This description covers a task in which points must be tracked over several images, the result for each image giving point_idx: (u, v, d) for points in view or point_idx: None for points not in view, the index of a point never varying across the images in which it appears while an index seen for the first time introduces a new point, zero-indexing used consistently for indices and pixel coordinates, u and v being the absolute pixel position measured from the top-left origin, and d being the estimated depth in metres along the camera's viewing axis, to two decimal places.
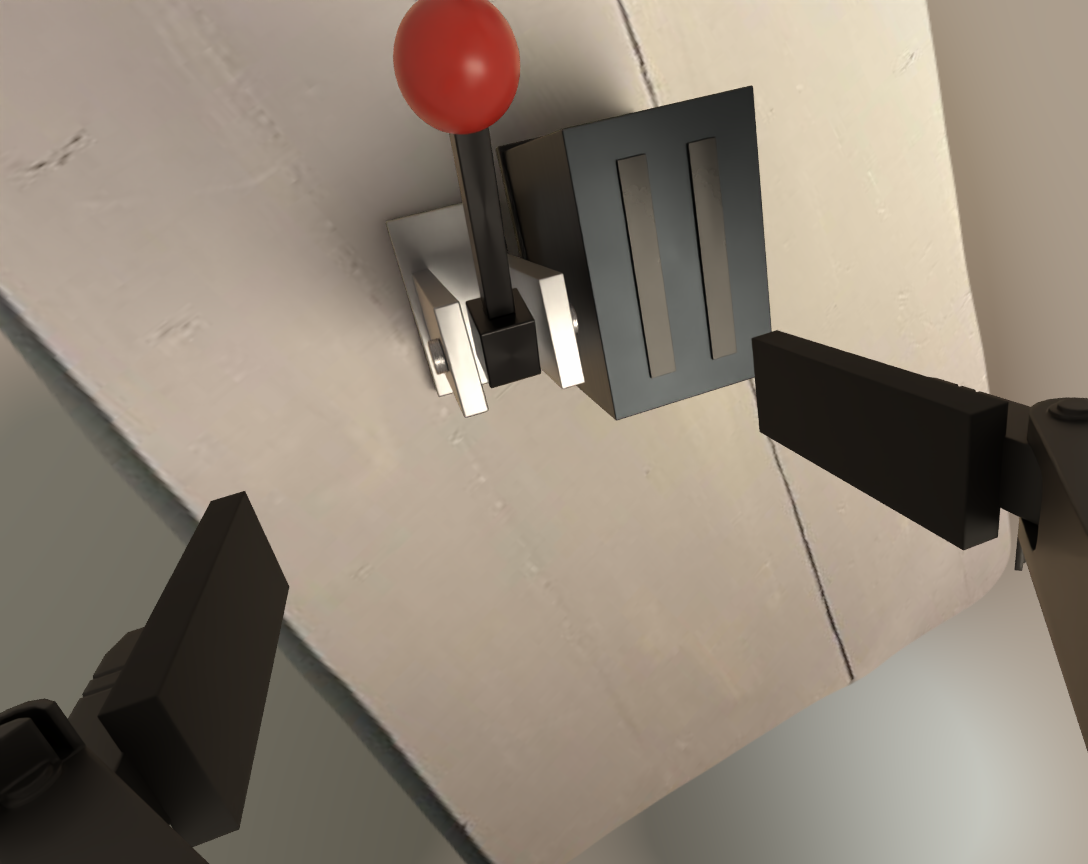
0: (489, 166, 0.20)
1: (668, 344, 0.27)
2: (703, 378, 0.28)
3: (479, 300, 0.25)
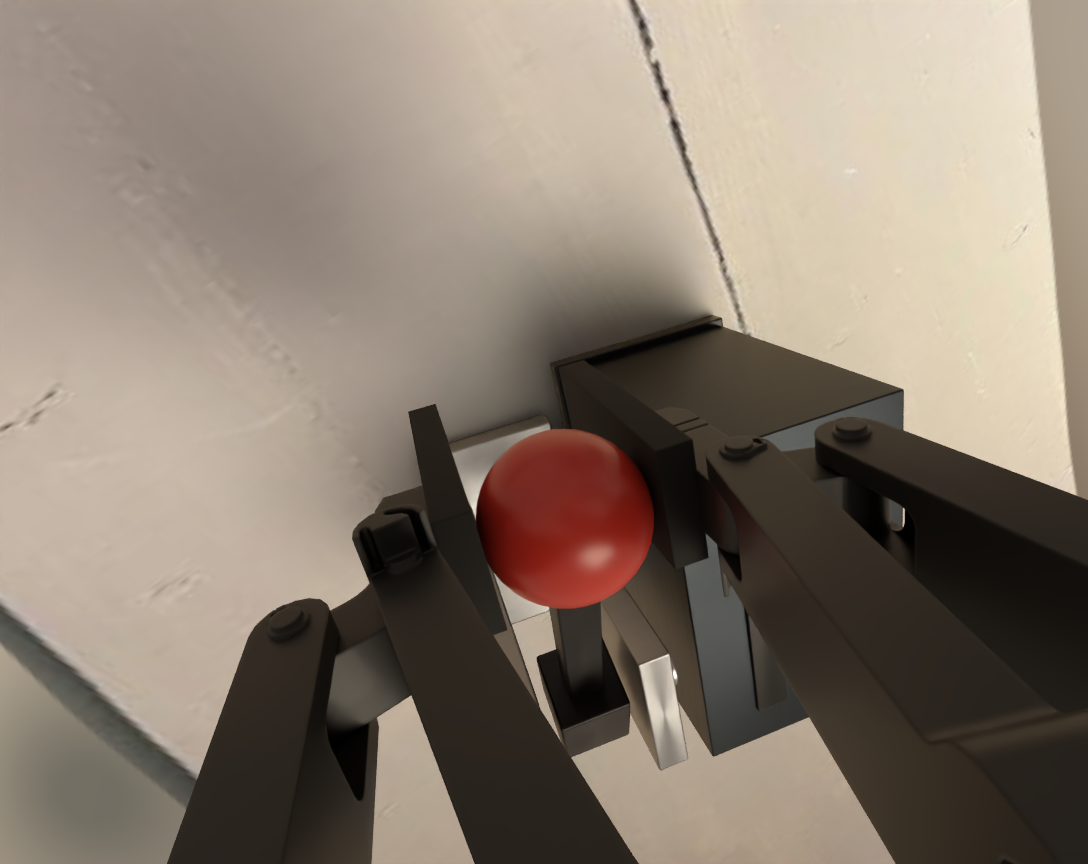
0: None
1: (781, 673, 0.22)
2: None
3: (555, 657, 0.20)
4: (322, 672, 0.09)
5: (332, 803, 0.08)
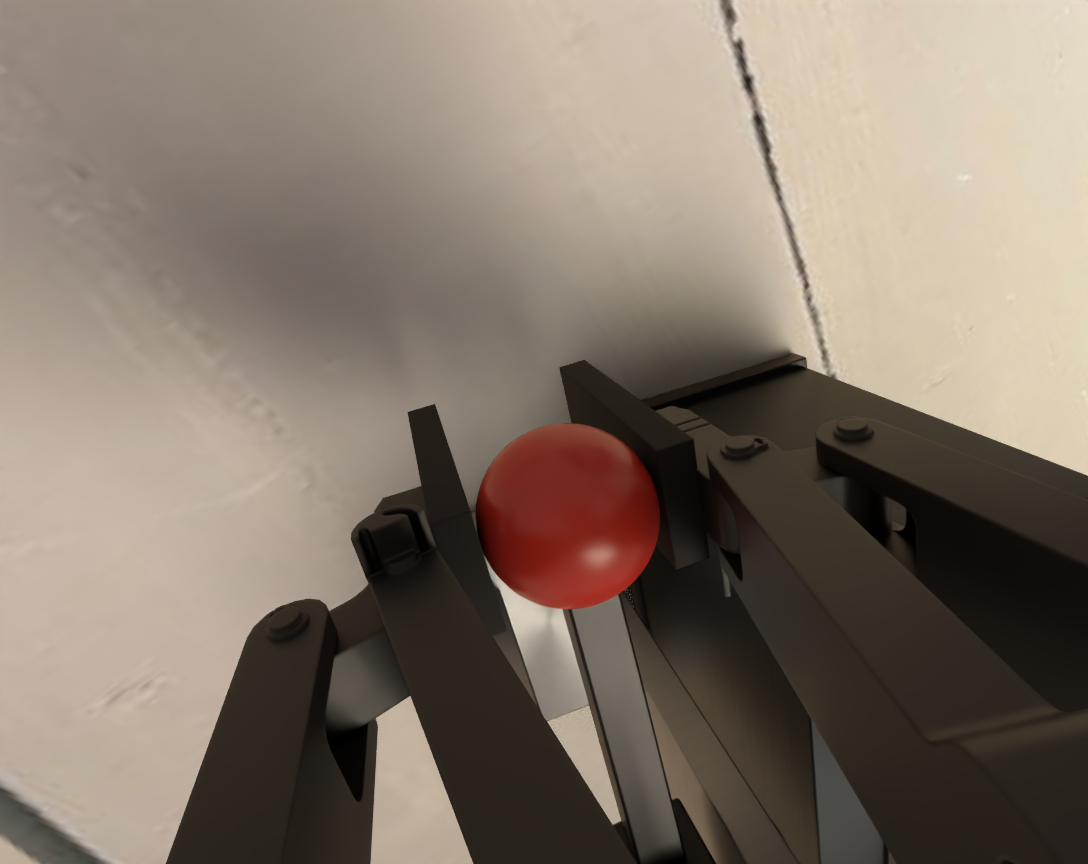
0: (625, 644, 0.13)
1: None
2: None
3: (621, 829, 0.15)
4: (321, 673, 0.09)
5: (331, 804, 0.08)
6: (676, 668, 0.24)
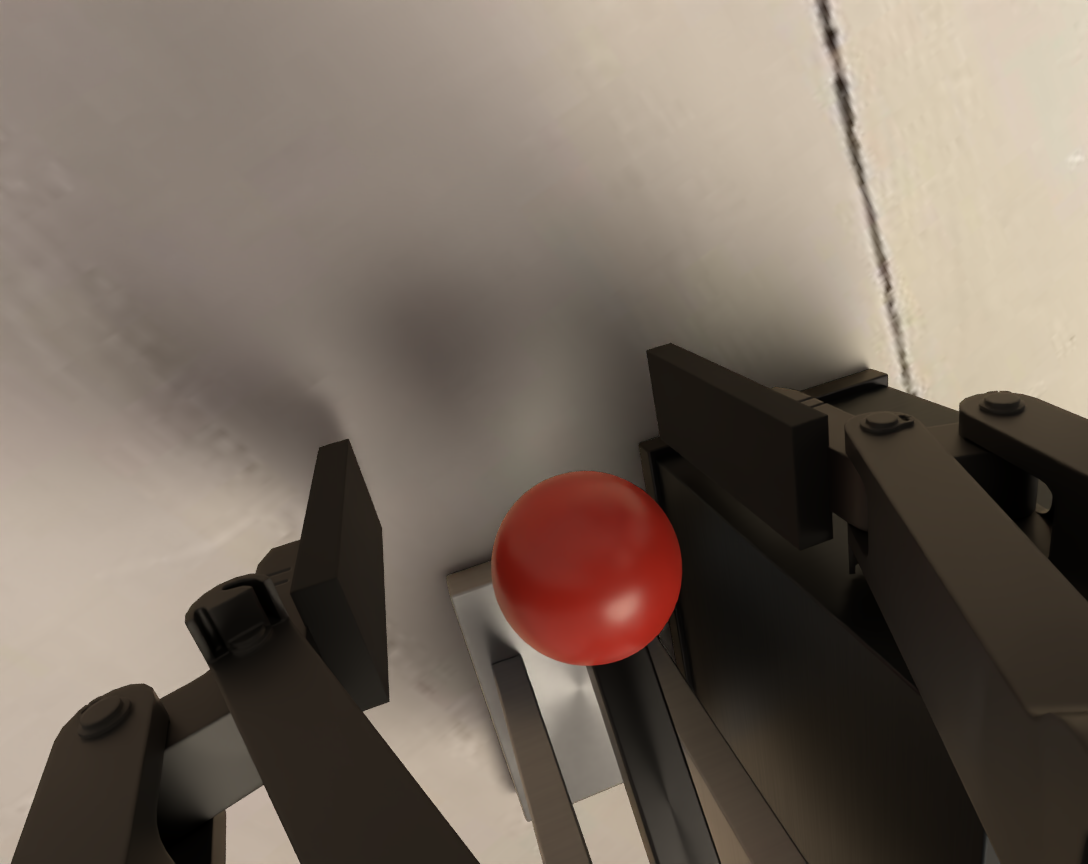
0: (661, 713, 0.11)
1: None
2: None
3: None
4: (149, 764, 0.08)
5: None
6: (733, 748, 0.20)
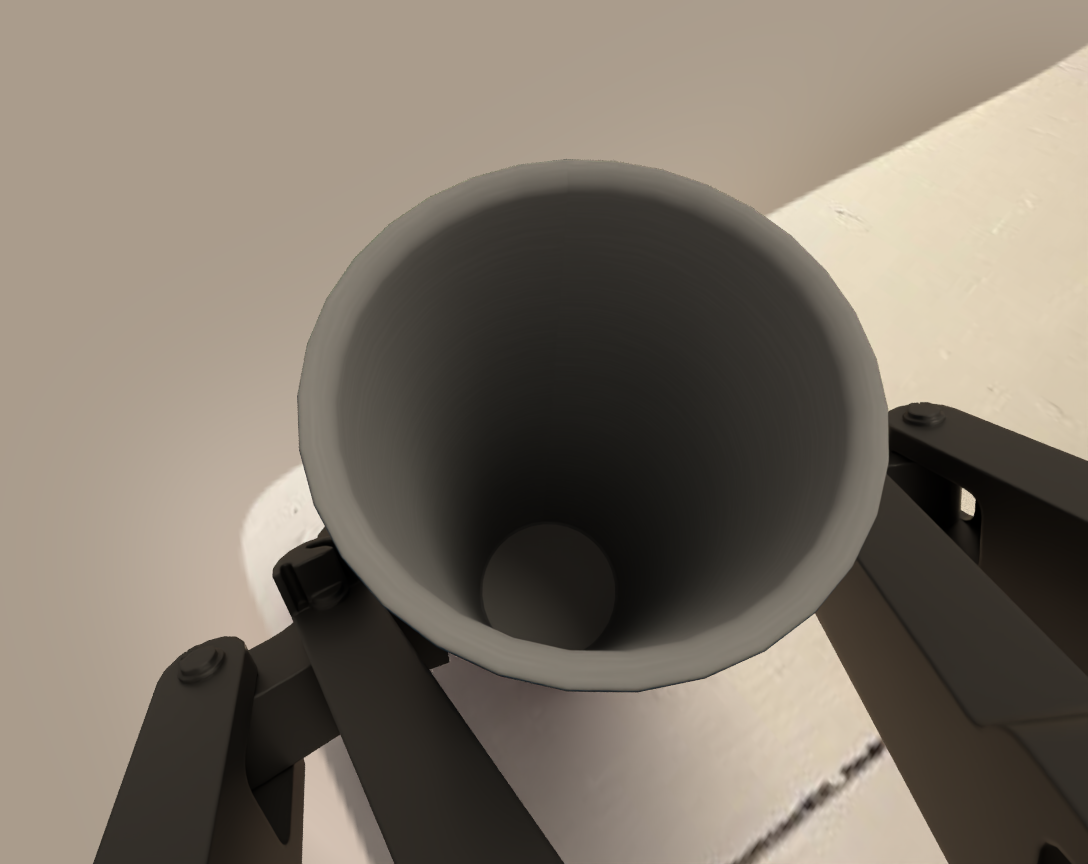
0: None
1: None
2: None
3: None
4: (239, 712, 0.08)
5: (254, 849, 0.07)
6: None
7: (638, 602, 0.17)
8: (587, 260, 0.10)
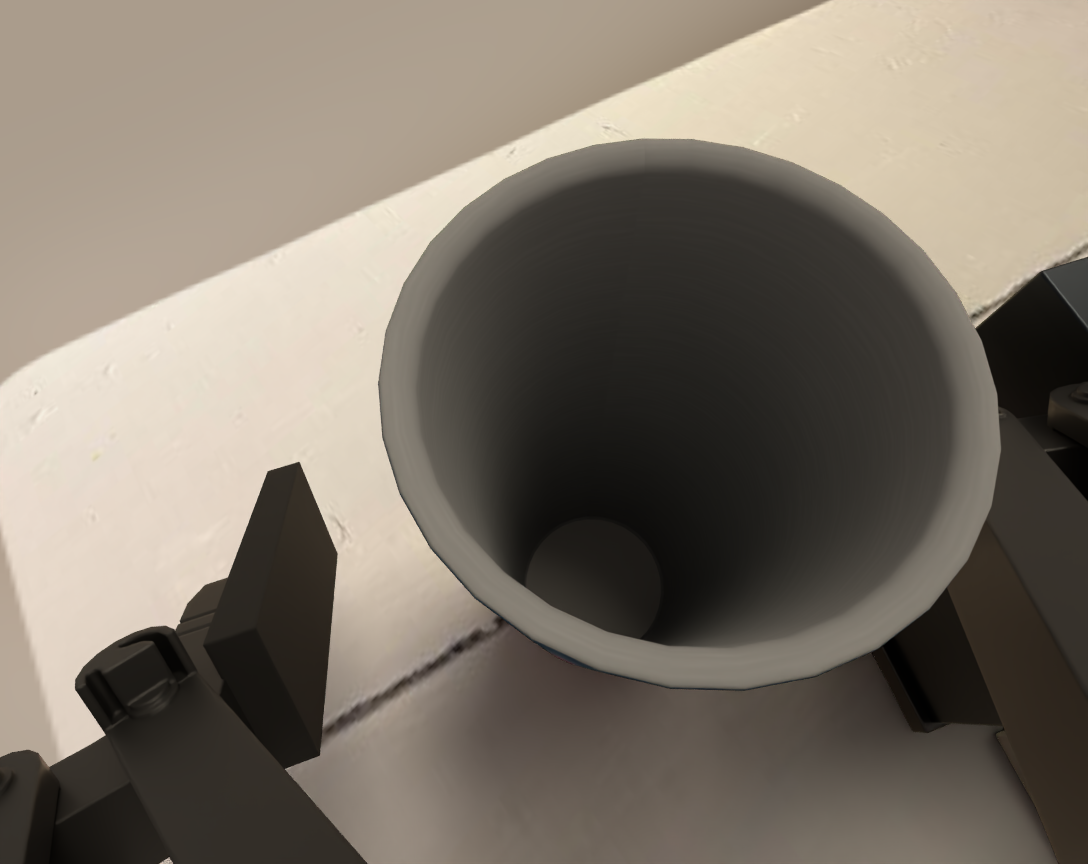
0: None
1: None
2: None
3: None
4: (35, 837, 0.07)
5: None
6: None
7: (690, 599, 0.16)
8: (658, 244, 0.10)
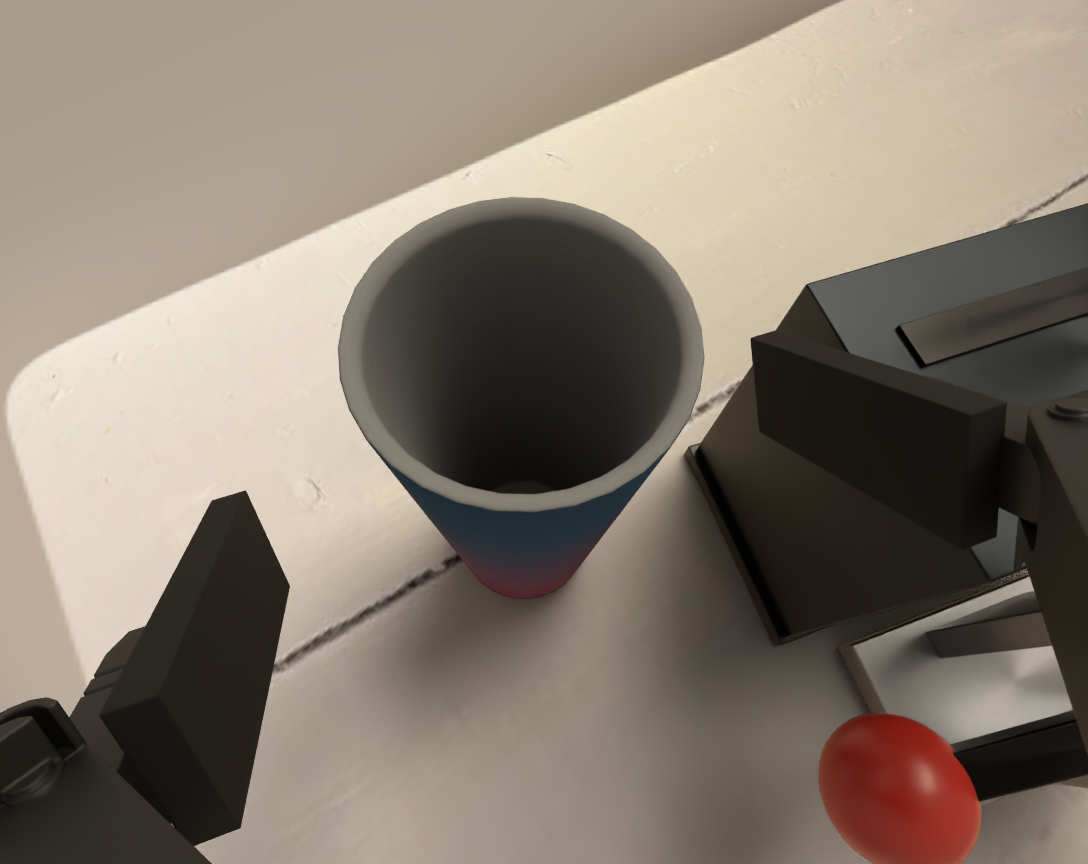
0: (1009, 747, 0.15)
1: None
2: None
3: None
4: None
5: None
6: None
7: None
8: (531, 263, 0.14)
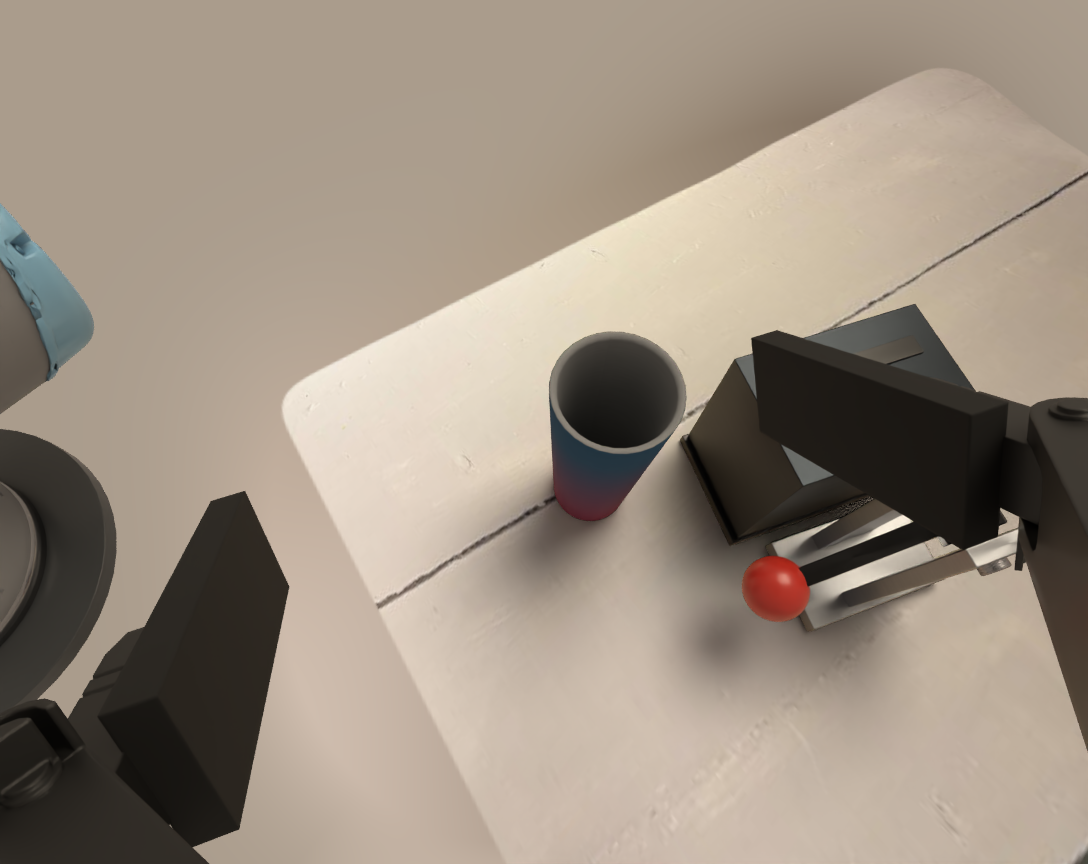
0: (820, 562, 0.34)
1: None
2: (939, 356, 0.36)
3: (937, 537, 0.33)
4: None
5: None
6: None
7: None
8: (613, 354, 0.34)
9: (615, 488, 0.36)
